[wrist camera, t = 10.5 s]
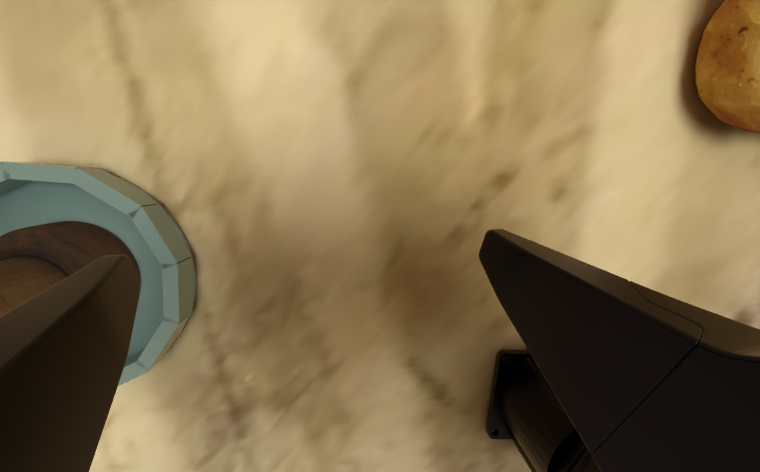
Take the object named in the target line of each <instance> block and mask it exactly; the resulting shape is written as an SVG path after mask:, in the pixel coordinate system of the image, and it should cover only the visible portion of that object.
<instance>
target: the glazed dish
mask: <svg viewBox="0 0 760 472" xmlns="http://www.w3.org/2000/svg"><path fill="white" fill-rule="evenodd" d="M61 221H78V222H85V223H89V224H93V225H96V226H99V227H101V228H103V229H105V230H107V231H109V232H110V233H112V234H113V235H115V236H116V237H117V238H119V239H120V240H121V241H122V242H123V243H124V244H125V246H126V247H127V248H128V249H129V250H130V252H131V254H132V255H133V257H134V258H135V261H136V263H137V266H138V269H139V274H140V295H139V301H138V306H137V311H136V316H135V321H134V326H133V331H132V337H131V342H130V347H129V351H128V356H127V359H126V362H125V366H124V369H123V372H122V375H121V378H120V381H119V384H118V386H119V385H121V384H123V383H125V382H127V381H129V380H131V379H133V378H136V377H138V376H140V375H142V374H144V373H146V372H148V371H149V370H150V369H151V368H152V367H153V366H154V365H155V364H156V363H157V362H158V361H159V360H160V359H161V358H163V357H164V356H165V354H166V353H167V351H168V349H169V348H170V346H171V345H172V343H173V342H174V341H175V340H176V339H177V337H178V336H179V335H180V333H181V332H182V331H183V329H184V327H185V326H186V324H187V322H188V320H189V318H190V315H191V314H192V311H193V307H194V303H195V298H196V291H197V274H196V266H195V261H194V257H193V253H192V251H191V248H190V245H189V243H188V241H187V239H186V237H185V235H184V233H183V231H182V229H181V228H180V226H179V225H178V223H177V222H176V221H175V219H174V218H173V216H172V215H171V214H170V213H169V212H168V211H167V210H166V209H165V207H164V206H163V205H162V204H160V203H159V202H158V201H157V200H156V199H155V198H154V197H152V196H151V195H150V194H149V193H147V192H146V191H144V190H143V189H141V188H140V187H138V186H137V185H135V184H133V183H131V182H129V181H127V180H125V179H124V178H121V177H119V176H116V175H113V174H111V173H108V172H106V171H105V170H103V169H100V168H91V167H80V166H65V165H53V164H40V163H22V162H0V236H2V235H4V234H6V233H8V232H10V231H13V230H17V229H21V228H25V227H30V226H36V225H42V224H47V223H53V222H61Z"/></svg>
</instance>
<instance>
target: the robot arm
mask: <svg viewBox="0 0 760 472" xmlns="http://www.w3.org/2000/svg"><path fill="white" fill-rule="evenodd" d="M479 258H480V261H481V264H482V266H483V268H484V270H485V272H486V274H487V276H488V278H489V281H490V283H491V285H492V287H493V289H494V291H495V293H496V295H497V297H498V299H499V301H500V303H501V305H502V307H503V308H504V310H505V312H506V314H507V315H508V317H509V318H510V320H511V322H512V323H513V325H514V327H515V328H516V330H517V332H518V333H519V335H520V337H521V338H522V340H523V342H524V343H525V345H526V347H527V348H528V350H529V351H515V350H503V351H501V352H499V354H498V355H497V360H496V367H495V373H494V380H493V386H492V393H491V399H490V406H489V412H488V419H487V425H486V431H487V433H488V435H489V437H490V438H492V439H512V440H513V442H514V443H515V445H516V447H517V448H518V450H519V452H520V453H521V455H522V456H523V458H524V460H525V461H526V463H527V465H528V466H529V468H530V469H531V471H532V472H760V329H757V328H754V327H751V326H748V325H746V324H743V323H740V322H737V321H735V320H732V319H729V318H726V317H724V316H721V315H718V314H715V313H712V312H710V311H707V310H704V309H701V308H699V307H696V306H693V305H691V304H688V303H685V302H683V301H680V300H677V299H675V298H672V297H669V296H667V295H664V294H662V293H659V292H656V291H654V290H651V289H649V288H646V287H644V286H641V285H639V284H636V283H634V282H631V281H630V282H629V281H628V280H626V279H624V278H622V277H619V276H617V275H614V274H612V273H609V272H607V271H604V270H602V269H599V268H597V267H594V266H592V265H589V264H587V263H585V262H582V261H580V260H577V259H575V258H572V257H570V256H567V255H565V254H562V253H560V252H557V251H555V250H552V249H550V248H548V247H545V246H543V245H540V244H538V243H535V242H533V241H530V240H528V239H525V238H523V237H520V236H518V235H515V234H513V233H511V232H508V231H506V230H503V229H492V230H489V231H487V232H486V234H485V237H484V240H483V243H482V246H481V249H480V252H479ZM139 295H140V285H139V282H138V279H137V276H136V274H135V271H134V268H133V265H132V263H131V260H130V258H129V257H128V256H126V255H109V256H103V257H101V258H99V259H97V260H96V261H94V262H92V263H90V264H89V265H87V266H85V267H84V268H82V269H80V270H79V271H77V272H75V273H74V274H72V275H70V276H69V277H67V278H65V279H64V280H62V281H60V282H59V283H57V284H55V285H54V286H52V287H50V288H48V289H47V290H45V291H43V292H42V293H40V294H38V295H37V296H35V297H33V298H32V299H30V300H28V301H27V302H25V303H23V304H22V305H20V306H18V307H17V308H15V309H13V310H12V311H10V312H8V313H6V314H5V315H3V316H1V317H0V472H89V470H90V467H91V464H92V461H93V458H94V455H95V452H96V449H97V446H98V443H99V440H100V437H101V434H102V431H103V428H104V425H105V422H106V419H107V416H108V413H109V410H110V407H111V404H112V401H113V398H114V395H115V393H116V390H117V387H118V384H119V381H120V378H121V375H122V372H123V369H124V366H125V362H126V359H127V356H128V351H129V347H130V342H131V337H132V331H133V326H134V321H135V316H136V311H137V306H138V301H139ZM505 357H508V358H507V359H506V360H503V359H504V358H505ZM495 429H496V430H495ZM493 430H495V431H493ZM492 431H493V432H492Z"/></svg>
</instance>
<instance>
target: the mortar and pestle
mask: <svg viewBox="0 0 760 472" xmlns="http://www.w3.org/2000/svg"><path fill="white" fill-rule="evenodd" d="M109 255H126V256H128V257H129V258H130V260H131V263H132V265H133V268H134V271H135V274H136V276H137V279H138V282H139V285H140V274H139V269H138V266H137V263H136V261H135V258H134V257H133V255H132V254H131V252H130V250H129V249H128V248H127V247H126V246H125V244H124V243H123V242H122V241H121V240H120V239H119V238H117V237H116V236H115V235H113V234H112V233H110V232H109V231H107V230H105V229H103V228H101V227H99V226H96V225H93V224H89V223H85V222H78V221H61V222H53V223H47V224H42V225H36V226H30V227H25V228H21V229H17V230H13V231H10V232H8V233H6V234H4V235H2V236H0V317H1V316H3V315H5V314H6V313H8V312H10V311H12V310H13V309H15V308H17V307H18V306H20V305H22V304H23V303H25V302H27V301H28V300H30V299H32V298H33V297H35V296H37V295H38V294H40V293H42V292H43V291H45V290H47V289H48V288H50V287H52V286H54V285H55V284H57V283H59V282H60V281H62V280H64V279H65V278H67V277H69V276H70V275H72V274H74V273H75V272H77V271H79V270H80V269H82V268H84V267H85V266H87V265H89V264H90V263H92V262H94V261H96V260H97V259H99V258H101V257H103V256H109Z"/></svg>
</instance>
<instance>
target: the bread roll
mask: <svg viewBox="0 0 760 472" xmlns="http://www.w3.org/2000/svg"><path fill="white" fill-rule="evenodd" d="M695 72H696V86H697V88H698V95H699V98H700V99H701V100H702V101H703V103H704V104H705V105H706V107H707V108H709V109H710V110H711V111H712V112H713V113H714V114H715V115H716V117H717V118H718V119H720V120H721V121H723V122H725V123H728V124H730V125H732V126H734V127H737V128H740V129H743V130H744V131H755V132H760V0H725V1H724V2H723V3H722V4H721V6H720V7H719V8H718V9H717V11H716V12H715V13H714V15H713V16H712V18H711V20H710V21H709V23H708V24H707V26H706V28H705V30H704V33H703V37H702V40H701V42H700V45H699V49H698V55H697V59H696V66H695Z"/></svg>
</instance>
